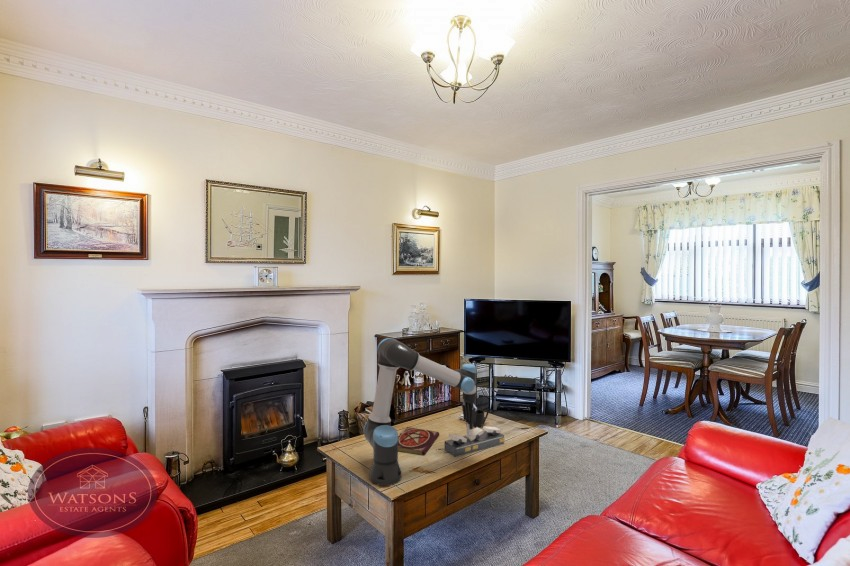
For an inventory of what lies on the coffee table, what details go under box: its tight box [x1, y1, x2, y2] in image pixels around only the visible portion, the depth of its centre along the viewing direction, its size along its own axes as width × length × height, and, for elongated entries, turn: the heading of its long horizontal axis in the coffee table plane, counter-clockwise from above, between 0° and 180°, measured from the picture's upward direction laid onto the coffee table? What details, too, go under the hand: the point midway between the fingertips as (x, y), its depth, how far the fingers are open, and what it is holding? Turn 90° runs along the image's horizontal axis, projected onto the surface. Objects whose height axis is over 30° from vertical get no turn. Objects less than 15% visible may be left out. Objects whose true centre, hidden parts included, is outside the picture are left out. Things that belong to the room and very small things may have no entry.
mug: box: [473, 408, 489, 429], centre depth 268 cm, size 8×12×10 cm
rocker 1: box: [448, 433, 467, 444], centre depth 231 cm, size 9×5×3 cm, turn 121°
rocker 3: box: [482, 425, 502, 435], centre depth 243 cm, size 9×5×3 cm, turn 121°
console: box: [443, 430, 505, 458], centre depth 237 cm, size 34×10×5 cm, turn 120°
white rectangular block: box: [464, 427, 484, 441], centre depth 237 cm, size 9×5×3 cm, turn 120°
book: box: [398, 426, 440, 457], centre depth 242 cm, size 28×21×5 cm
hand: (469, 434), depth 235 cm, fingers closed
